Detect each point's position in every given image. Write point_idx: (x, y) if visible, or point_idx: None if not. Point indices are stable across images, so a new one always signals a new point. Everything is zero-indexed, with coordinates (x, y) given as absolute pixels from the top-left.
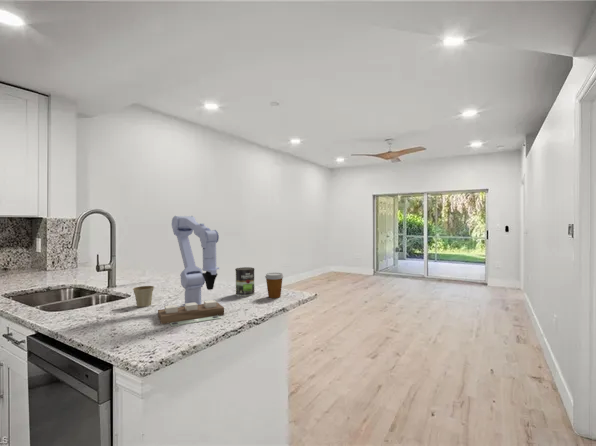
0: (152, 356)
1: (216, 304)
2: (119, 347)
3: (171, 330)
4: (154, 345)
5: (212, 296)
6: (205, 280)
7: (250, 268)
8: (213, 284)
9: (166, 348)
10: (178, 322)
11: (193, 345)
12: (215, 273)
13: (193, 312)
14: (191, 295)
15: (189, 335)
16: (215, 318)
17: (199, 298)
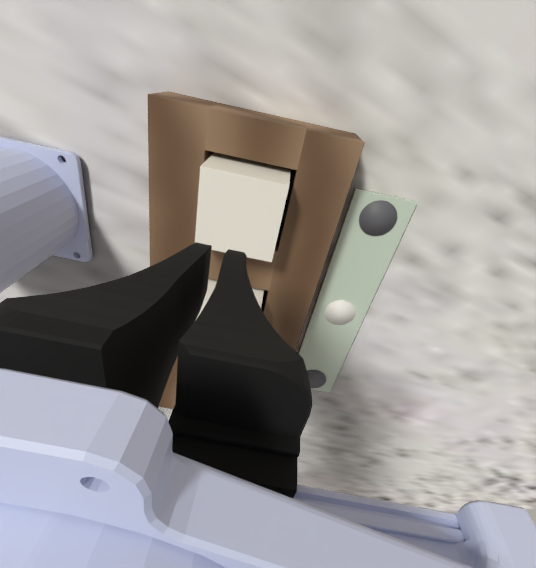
0: (532, 486)
1: (289, 180)
2: (392, 498)
3: (375, 404)
4: (462, 464)
5: None
6: (166, 377)
7: None
8: (248, 281)
9: (520, 458)
10: (310, 366)
11: None
12: (526, 547)
13: (302, 327)
14: (21, 270)
15: (490, 392)
16: (399, 231)
17: (22, 196)
